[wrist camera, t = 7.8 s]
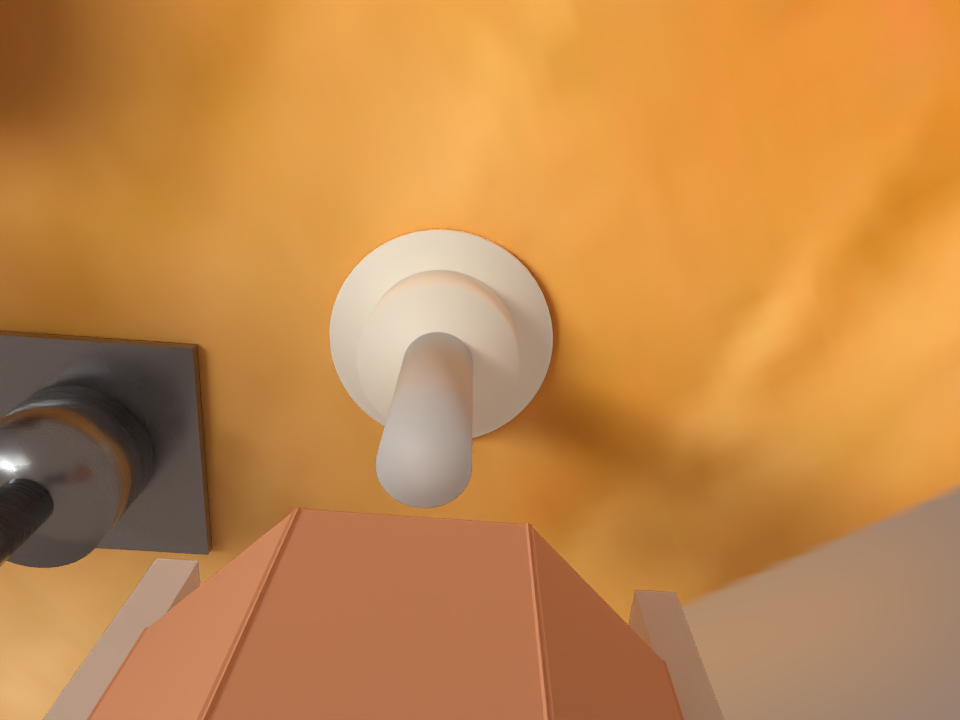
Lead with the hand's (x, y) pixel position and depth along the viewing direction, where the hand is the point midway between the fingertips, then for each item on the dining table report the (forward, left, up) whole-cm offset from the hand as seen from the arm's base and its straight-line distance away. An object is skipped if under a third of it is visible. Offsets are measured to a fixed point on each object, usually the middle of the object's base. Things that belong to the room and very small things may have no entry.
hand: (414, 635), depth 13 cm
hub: (0, 0, -17) cm, 17 cm away
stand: (-15, -6, -17) cm, 23 cm away
